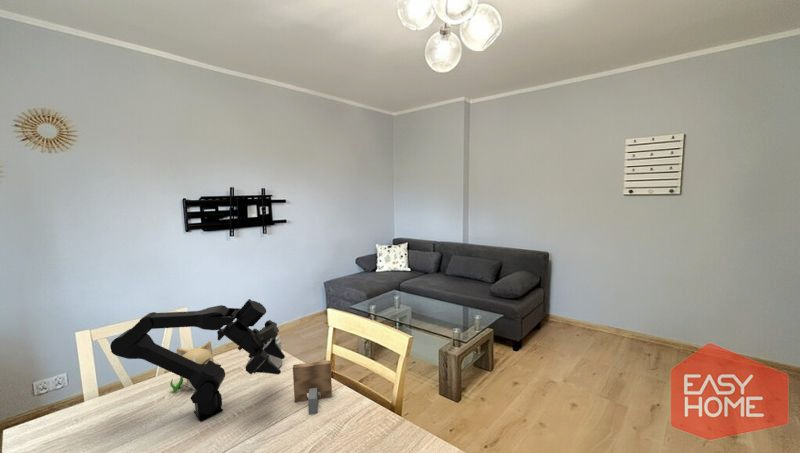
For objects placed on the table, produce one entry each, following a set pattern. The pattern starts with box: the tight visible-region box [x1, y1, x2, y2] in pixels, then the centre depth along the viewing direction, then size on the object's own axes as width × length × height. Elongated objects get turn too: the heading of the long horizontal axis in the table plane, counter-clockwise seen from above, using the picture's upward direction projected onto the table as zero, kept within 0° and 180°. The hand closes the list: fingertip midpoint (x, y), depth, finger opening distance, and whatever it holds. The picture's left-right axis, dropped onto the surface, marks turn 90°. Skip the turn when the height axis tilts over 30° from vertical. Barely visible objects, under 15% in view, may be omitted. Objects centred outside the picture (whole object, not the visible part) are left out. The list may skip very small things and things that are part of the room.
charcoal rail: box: [307, 388, 320, 415], centre depth 108 cm, size 14×2×5 cm, turn 12°
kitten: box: [169, 340, 220, 393], centre depth 117 cm, size 15×10×15 cm
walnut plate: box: [292, 360, 333, 403], centre depth 109 cm, size 12×2×12 cm, turn 102°
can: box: [267, 335, 283, 369], centre depth 128 cm, size 8×8×12 cm
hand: (282, 365), depth 106 cm, fingers open, 9 cm apart
